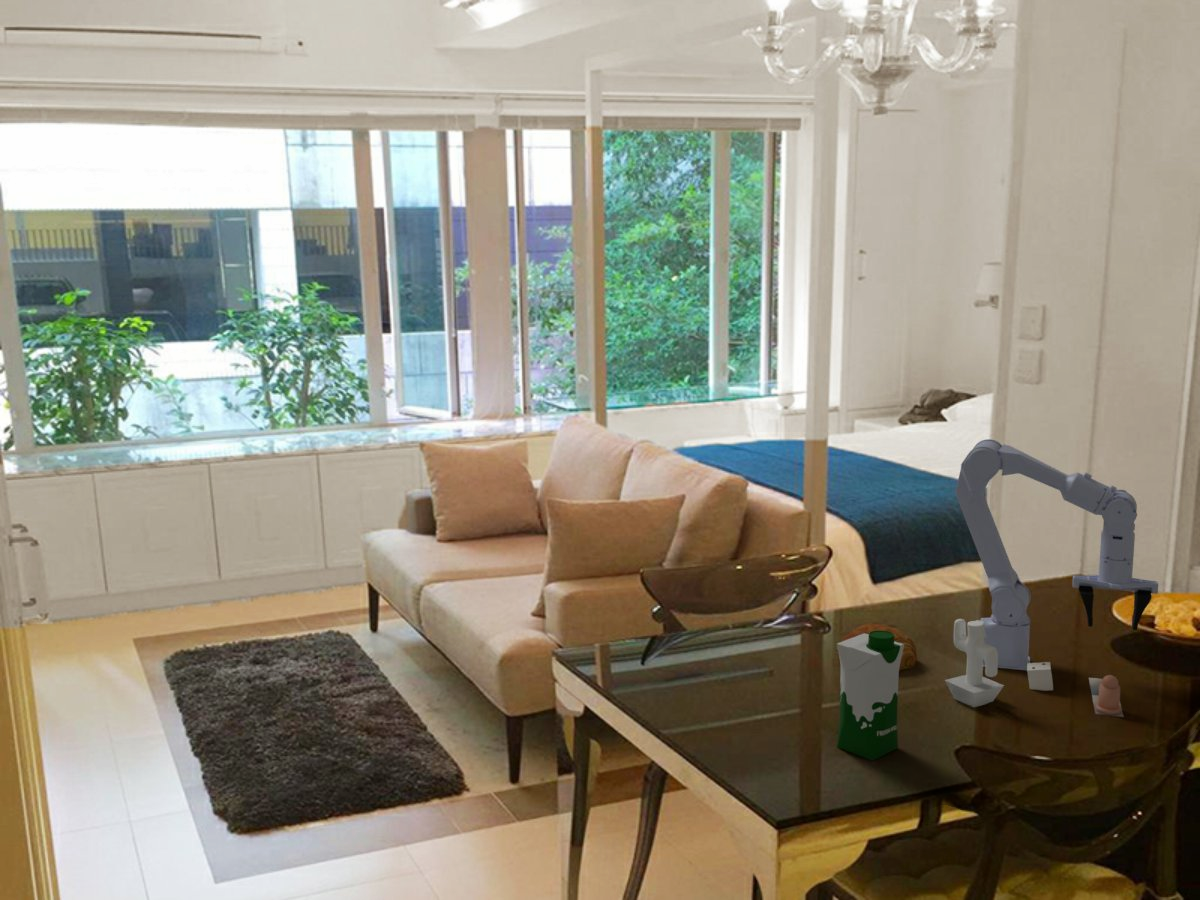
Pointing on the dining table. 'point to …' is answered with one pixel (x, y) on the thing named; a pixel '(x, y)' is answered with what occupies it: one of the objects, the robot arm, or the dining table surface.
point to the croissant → (909, 647)
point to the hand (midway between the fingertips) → (1112, 626)
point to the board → (1095, 694)
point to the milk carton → (869, 694)
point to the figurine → (975, 665)
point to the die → (1040, 676)
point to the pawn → (1109, 696)
